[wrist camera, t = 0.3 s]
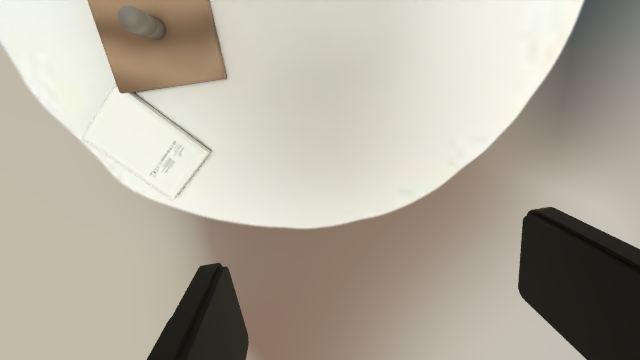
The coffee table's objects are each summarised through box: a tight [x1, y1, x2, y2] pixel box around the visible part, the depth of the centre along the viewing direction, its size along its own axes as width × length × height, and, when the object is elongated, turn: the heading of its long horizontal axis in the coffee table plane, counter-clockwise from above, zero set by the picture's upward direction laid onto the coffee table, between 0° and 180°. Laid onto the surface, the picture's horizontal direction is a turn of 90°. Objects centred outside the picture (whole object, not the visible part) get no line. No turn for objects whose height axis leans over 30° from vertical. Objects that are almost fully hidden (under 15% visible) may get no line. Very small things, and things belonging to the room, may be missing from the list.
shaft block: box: [88, 0, 227, 93], centre depth 30 cm, size 12×12×6 cm
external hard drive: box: [82, 85, 211, 201], centre depth 36 cm, size 2×8×12 cm
